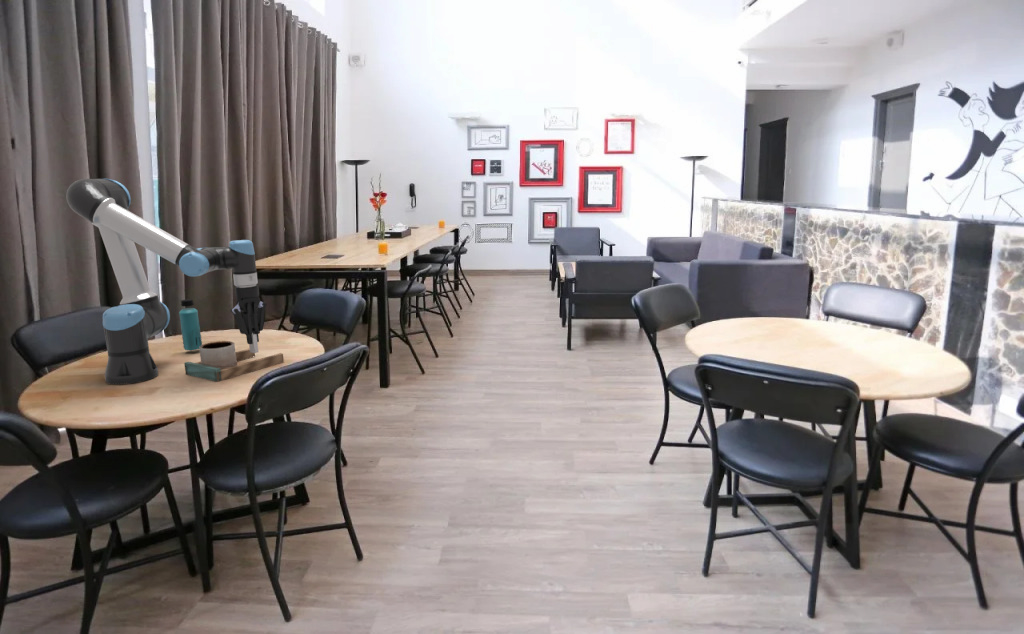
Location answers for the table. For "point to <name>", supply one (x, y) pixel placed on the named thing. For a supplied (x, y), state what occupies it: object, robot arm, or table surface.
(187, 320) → the beverage bottle
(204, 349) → the planter
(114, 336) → the robot arm
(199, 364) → the bay
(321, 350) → the table surface
